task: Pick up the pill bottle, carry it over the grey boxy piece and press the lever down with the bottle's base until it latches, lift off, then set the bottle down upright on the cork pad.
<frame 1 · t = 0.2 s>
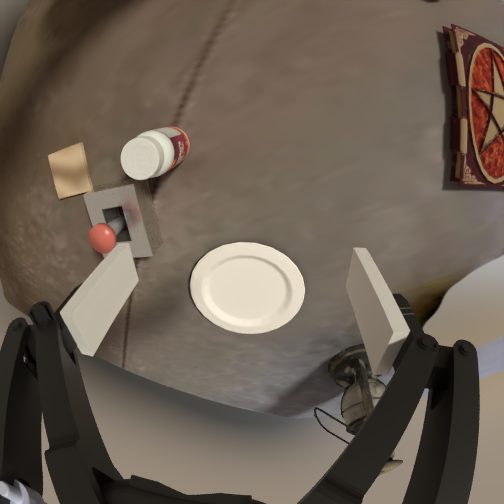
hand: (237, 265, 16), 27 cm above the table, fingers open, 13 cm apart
cork pad: (70, 171, 40), on the table
pill bottle: (171, 145, 38), on the table
book: (486, 110, 30), on the table
lever: (110, 230, 38), point 7 cm above the table, slide at 0.0 cm
lantern: (347, 365, 61), on the table
grey boxy piece: (129, 213, 44), on the table
plate: (247, 288, 51), on the table
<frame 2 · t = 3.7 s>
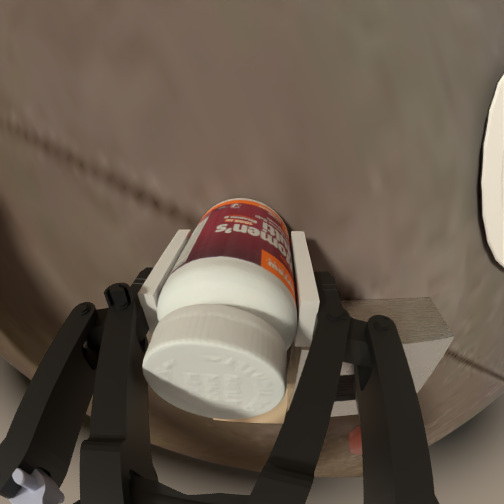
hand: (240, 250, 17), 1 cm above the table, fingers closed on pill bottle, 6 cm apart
cork pad: (247, 402, 29), on the table
pill bottle: (242, 238, 19), on the table, touching gripper
lever: (373, 408, 17), point 7 cm above the table, slide at 0.0 cm
grey boxy piece: (356, 342, 23), on the table
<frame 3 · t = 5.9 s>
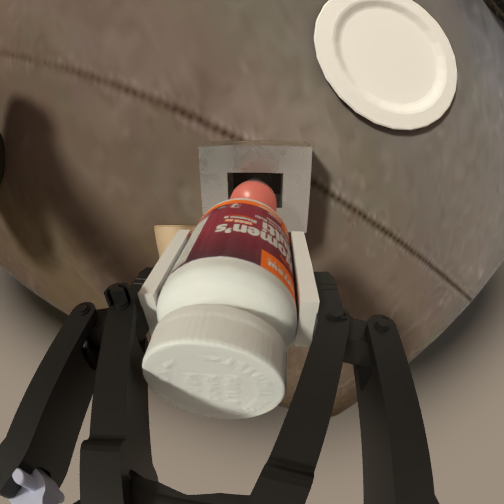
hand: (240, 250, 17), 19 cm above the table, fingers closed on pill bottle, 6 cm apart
cork pad: (188, 253, 40), on the table
pill bottle: (242, 238, 19), point 18 cm above the table, touching gripper
lever: (254, 196, 28), point 7 cm above the table, slide at 0.0 cm
lantern: (500, 2, 12), on the table
grey boxy piece: (256, 179, 34), on the table
plate: (389, 55, 25), on the table
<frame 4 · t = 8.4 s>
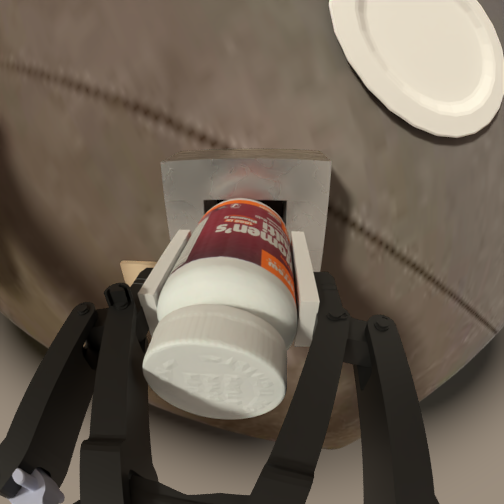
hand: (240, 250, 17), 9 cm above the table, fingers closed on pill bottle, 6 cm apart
cork pad: (164, 295, 31), on the table
pill bottle: (242, 238, 19), point 7 cm above the table, touching gripper, lever
lever: (245, 221, 21), point 4 cm above the table, slide at 2.9 cm, touching pill bottle
grey boxy piece: (249, 203, 25), on the table
plate: (427, 37, 15), on the table
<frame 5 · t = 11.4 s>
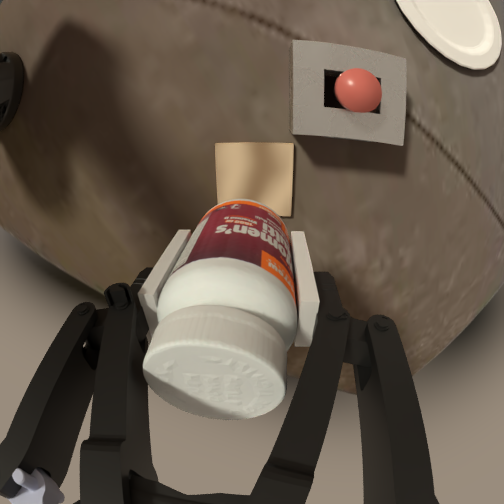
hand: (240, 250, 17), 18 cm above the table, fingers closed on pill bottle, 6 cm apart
cork pad: (254, 179, 32), on the table
pill bottle: (242, 238, 19), point 16 cm above the table, touching gripper
lever: (351, 91, 23), point 4 cm above the table, slide at 3.0 cm
grey boxy piece: (341, 93, 27), on the table
plate: (447, 6, 17), on the table
when the fingers open (3 cm above the table, at t = 14.2 s): pill bottle stays where it is, resting on cork pad.
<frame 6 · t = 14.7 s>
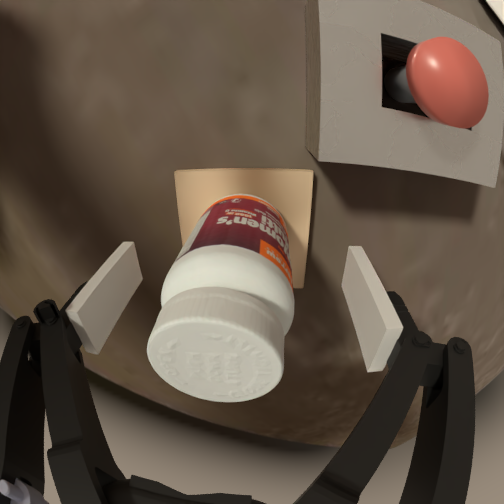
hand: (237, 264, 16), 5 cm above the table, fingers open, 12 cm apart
cork pad: (244, 230, 20), on the table
pill bottle: (242, 232, 19), resting on cork pad
lever: (424, 83, 10), point 4 cm above the table, slide at 3.0 cm
grey boxy piece: (394, 85, 14), on the table
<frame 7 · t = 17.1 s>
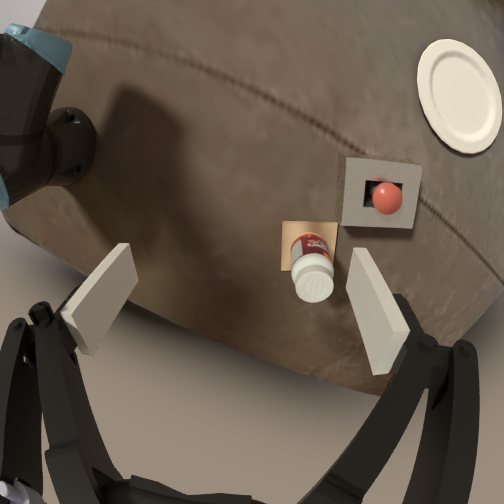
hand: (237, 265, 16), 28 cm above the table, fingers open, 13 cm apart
cork pad: (308, 246, 46), on the table
pill bottle: (308, 247, 46), resting on cork pad
lever: (381, 193, 36), point 4 cm above the table, slide at 3.0 cm
grey boxy piece: (372, 185, 40), on the table
plate: (460, 95, 30), on the table
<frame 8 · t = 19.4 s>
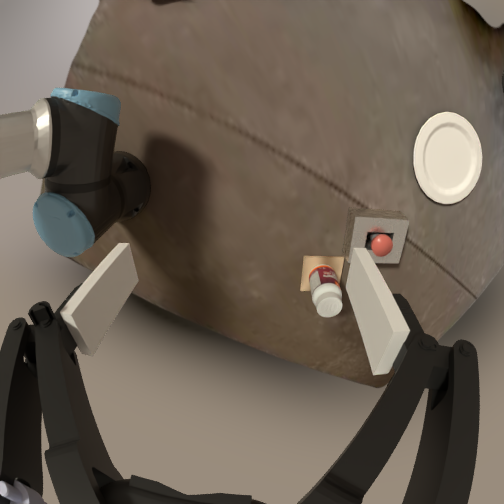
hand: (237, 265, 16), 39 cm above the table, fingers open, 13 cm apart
cork pad: (321, 273, 61), on the table
pill bottle: (321, 274, 61), resting on cork pad
lever: (377, 239, 52), point 4 cm above the table, slide at 3.0 cm
grey boxy piece: (371, 230, 55), on the table
plate: (447, 157, 46), on the table
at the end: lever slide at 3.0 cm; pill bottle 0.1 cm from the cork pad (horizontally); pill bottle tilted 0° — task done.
